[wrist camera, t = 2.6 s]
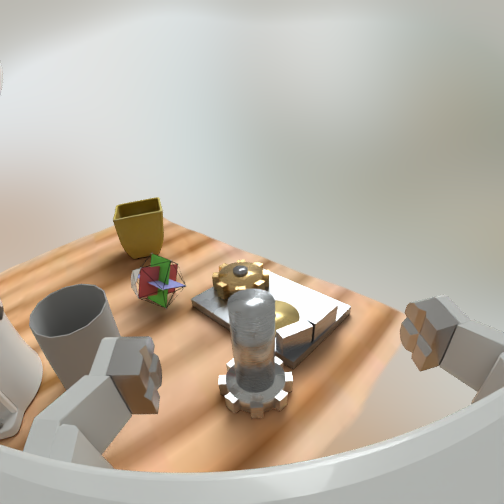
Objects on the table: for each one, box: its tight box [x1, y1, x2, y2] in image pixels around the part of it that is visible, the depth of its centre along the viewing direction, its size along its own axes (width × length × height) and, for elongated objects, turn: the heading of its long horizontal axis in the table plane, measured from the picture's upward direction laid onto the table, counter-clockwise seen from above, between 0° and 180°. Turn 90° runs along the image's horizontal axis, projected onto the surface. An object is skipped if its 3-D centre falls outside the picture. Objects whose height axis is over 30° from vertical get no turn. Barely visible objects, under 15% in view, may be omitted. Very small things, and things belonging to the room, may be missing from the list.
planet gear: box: [219, 289, 293, 418], centre depth 26 cm, size 7×7×11 cm
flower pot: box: [113, 198, 164, 259], centre depth 55 cm, size 9×9×9 cm
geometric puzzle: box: [131, 253, 186, 309], centre depth 41 cm, size 7×7×8 cm
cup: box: [29, 284, 121, 390], centre depth 27 cm, size 8×8×10 cm
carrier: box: [191, 269, 351, 369], centre depth 39 cm, size 12×17×4 cm
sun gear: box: [212, 260, 269, 300], centre depth 42 cm, size 8×8×4 cm
